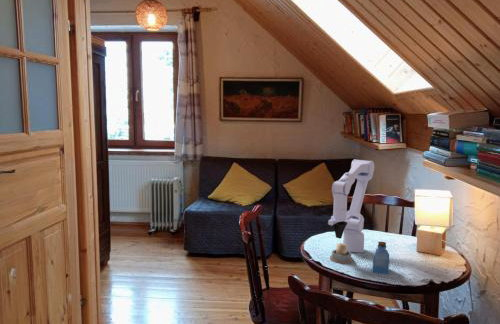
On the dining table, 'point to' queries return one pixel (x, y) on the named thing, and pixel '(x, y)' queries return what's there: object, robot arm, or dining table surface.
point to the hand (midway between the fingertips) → (338, 237)
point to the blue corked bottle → (381, 259)
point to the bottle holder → (341, 257)
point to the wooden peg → (341, 249)
